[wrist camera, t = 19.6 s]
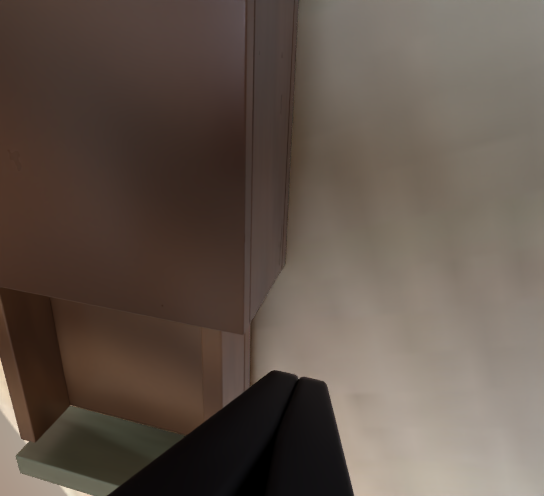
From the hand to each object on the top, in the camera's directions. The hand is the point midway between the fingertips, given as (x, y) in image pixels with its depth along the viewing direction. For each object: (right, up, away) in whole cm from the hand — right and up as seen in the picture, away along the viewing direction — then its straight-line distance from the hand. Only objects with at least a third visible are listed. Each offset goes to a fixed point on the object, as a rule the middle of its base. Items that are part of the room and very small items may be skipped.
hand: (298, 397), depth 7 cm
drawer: (-6, -4, +16) cm, 17 cm away
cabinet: (-5, +9, +11) cm, 15 cm away
